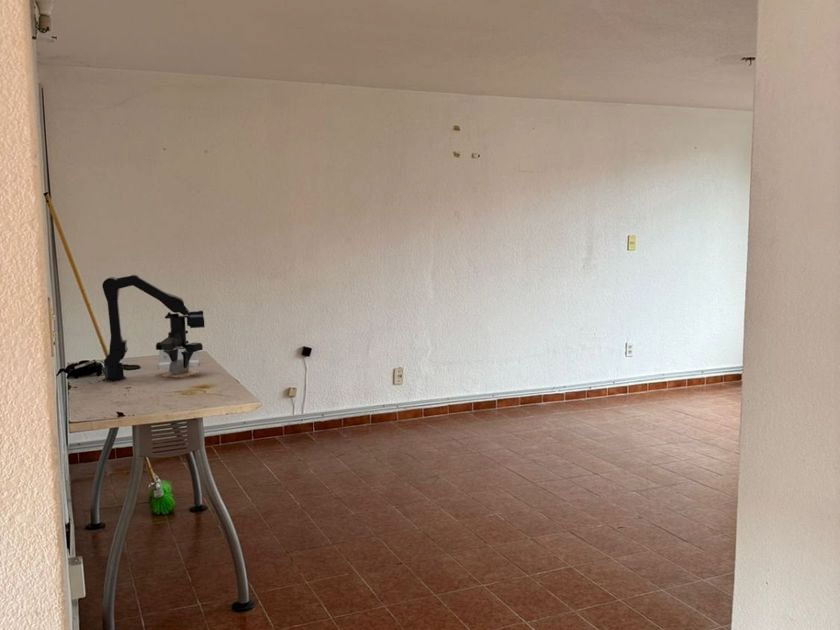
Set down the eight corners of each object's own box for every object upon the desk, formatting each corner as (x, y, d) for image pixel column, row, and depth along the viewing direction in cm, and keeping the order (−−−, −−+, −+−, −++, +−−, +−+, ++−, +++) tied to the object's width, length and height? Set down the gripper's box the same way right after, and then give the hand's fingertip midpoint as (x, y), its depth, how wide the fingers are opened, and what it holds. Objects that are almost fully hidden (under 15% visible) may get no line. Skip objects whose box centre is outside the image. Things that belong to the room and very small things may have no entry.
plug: (177, 374, 314) (168, 371, 315) (191, 370, 322) (183, 367, 324) (178, 365, 313) (170, 362, 314) (193, 360, 321) (185, 357, 323)
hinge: (158, 369, 330) (156, 345, 332) (158, 370, 334) (157, 347, 336) (199, 366, 335) (198, 342, 336) (199, 367, 339) (198, 344, 341)
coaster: (162, 376, 315) (162, 374, 315) (178, 371, 324) (178, 369, 324) (183, 377, 312) (183, 376, 311) (199, 372, 321) (198, 371, 321)
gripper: (145, 331, 311) (147, 370, 314) (184, 333, 305) (186, 373, 307) (164, 326, 322) (166, 364, 324) (202, 328, 315) (204, 367, 317)
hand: (180, 367), depth 318 cm, fingers closed on plug, 4 cm apart
